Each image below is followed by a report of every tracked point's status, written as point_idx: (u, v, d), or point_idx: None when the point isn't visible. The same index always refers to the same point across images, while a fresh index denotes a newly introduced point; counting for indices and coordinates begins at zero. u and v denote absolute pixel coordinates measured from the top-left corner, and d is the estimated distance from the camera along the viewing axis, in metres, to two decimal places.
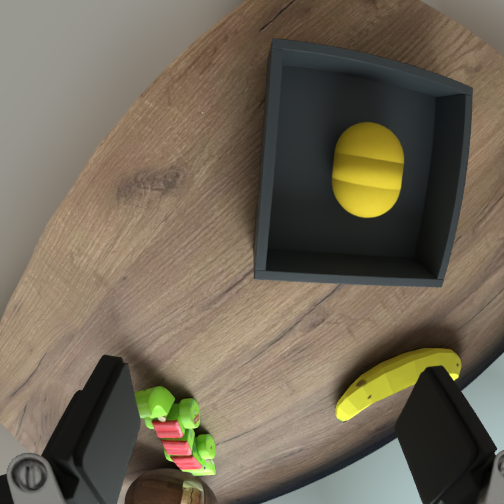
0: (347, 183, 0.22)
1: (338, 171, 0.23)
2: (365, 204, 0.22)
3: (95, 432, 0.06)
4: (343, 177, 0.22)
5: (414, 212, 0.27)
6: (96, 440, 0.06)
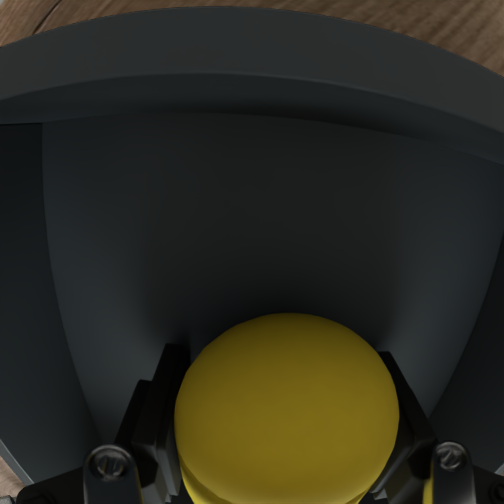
0: None
1: (181, 466, 0.07)
2: None
3: (171, 416, 0.07)
4: (189, 490, 0.06)
5: None
6: (172, 424, 0.07)
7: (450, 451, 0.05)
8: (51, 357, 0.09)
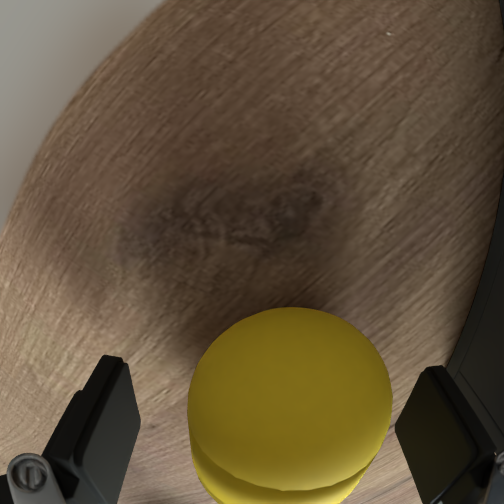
0: (211, 493, 0.07)
1: (193, 455, 0.07)
2: None
3: (95, 432, 0.06)
4: (202, 477, 0.07)
5: None
6: (96, 440, 0.06)
7: None
8: None
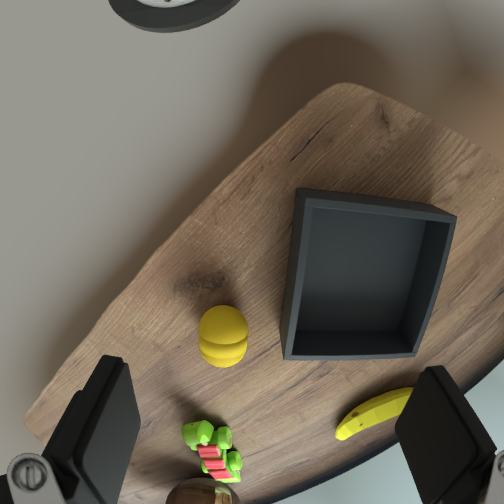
0: (208, 355, 0.34)
1: (201, 346, 0.34)
2: (221, 365, 0.34)
3: (95, 432, 0.06)
4: (205, 351, 0.34)
5: (400, 300, 0.37)
6: (96, 440, 0.06)
7: None
8: None
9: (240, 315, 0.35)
